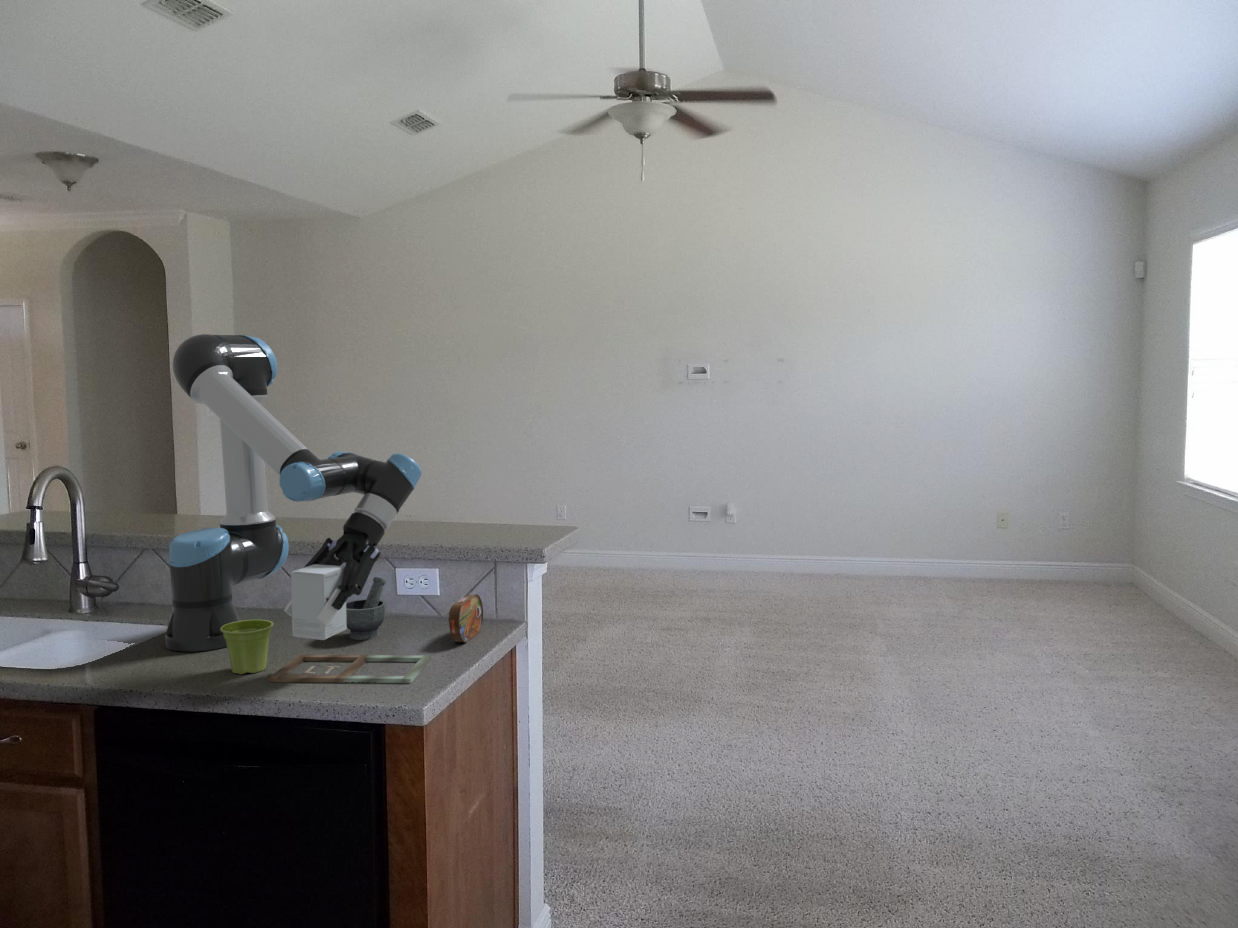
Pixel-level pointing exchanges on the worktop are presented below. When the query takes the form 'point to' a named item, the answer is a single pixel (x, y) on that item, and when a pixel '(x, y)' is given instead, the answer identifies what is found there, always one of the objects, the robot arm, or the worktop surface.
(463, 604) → the tin
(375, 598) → the mortar and pestle
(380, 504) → the robot arm
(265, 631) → the plant pot
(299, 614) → the supplement box
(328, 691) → the worktop surface
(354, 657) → the metal double frame
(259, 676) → the worktop surface
